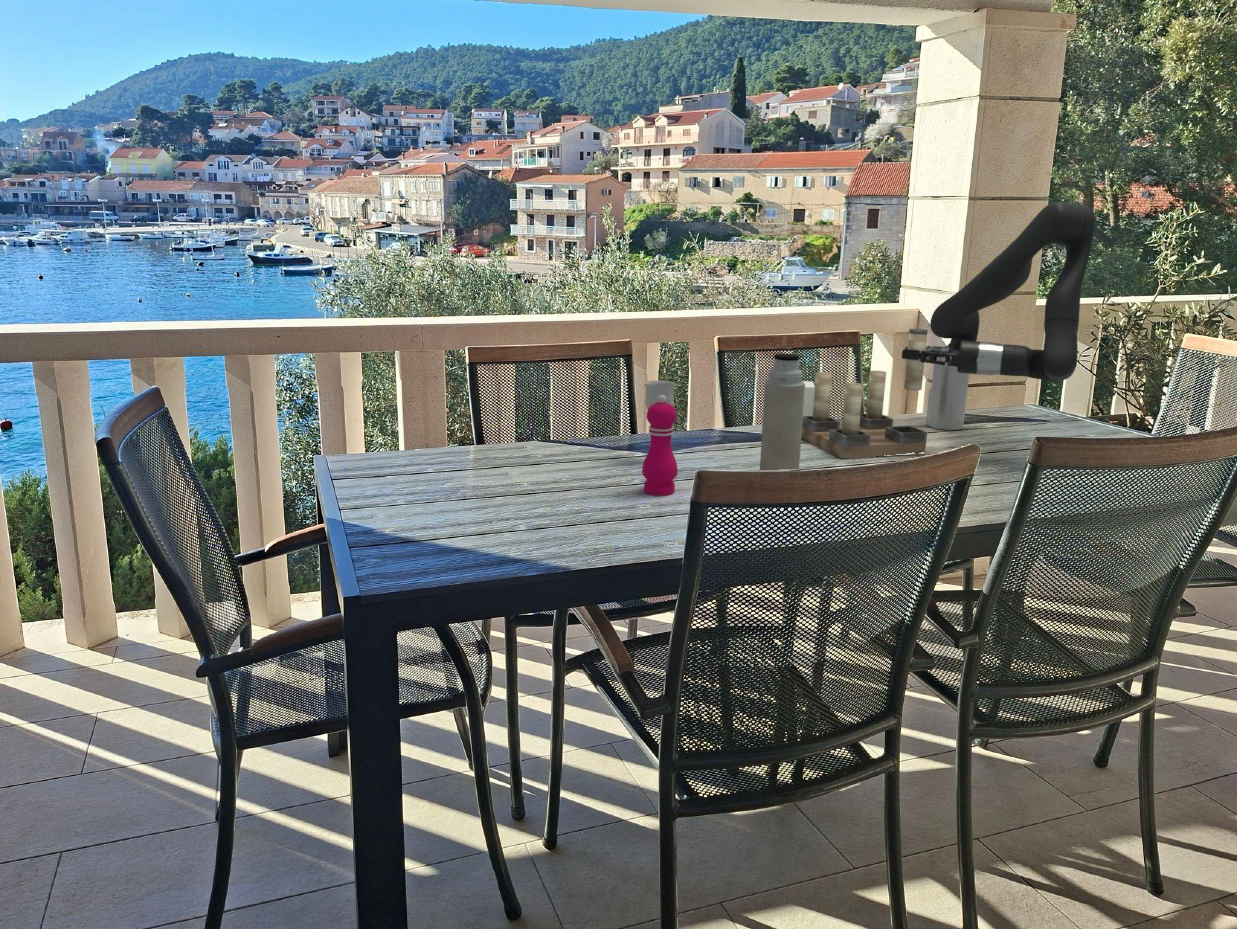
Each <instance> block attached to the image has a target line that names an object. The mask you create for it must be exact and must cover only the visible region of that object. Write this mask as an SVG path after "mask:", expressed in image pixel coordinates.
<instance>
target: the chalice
mask: <svg viewBox="0 0 1237 929" xmlns="http://www.w3.org/2000/svg"><path fill="white" fill-rule="evenodd" d="M643 384H644V386H645V407H646V410H647V411H648V409H649V407H650V406H651V405H652V404H654V403H658V397H659V396H660V395H665V396H666V398H667V400H666V402H665V403H669V404H671V405H672V406H673V407H674V390H675V387H676V386H677V383H676V382H674V381H669V380H647V381H644V382H643Z"/></svg>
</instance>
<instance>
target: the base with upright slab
mask: <svg viewBox="0 0 1237 929" xmlns="http://www.w3.org/2000/svg"><path fill="white" fill-rule="evenodd" d="M802 382H804V383H805V392H804V406H803V416H813V405H814V392H815V382H814V381H810V380H809V381H808V380H807V381H806V380H804V381H803V380H802Z"/></svg>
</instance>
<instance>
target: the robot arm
mask: <svg viewBox="0 0 1237 929" xmlns="http://www.w3.org/2000/svg"><path fill="white" fill-rule="evenodd" d="M1095 227H1096V216H1095V213H1094V210H1092V209H1091V208H1090V207H1088V206H1086V205H1081V204H1076V203H1071V202H1065V201H1053V202H1050V203H1049V204H1047V205H1045V206H1044V207H1043V208H1042V209H1041V210H1040V211H1039V213H1037V214H1036V215H1035V217H1034V218H1033V219H1032V221H1030V223H1028V225H1027V226H1026V227H1025V228H1024V229H1023V231H1022V232H1020V234H1019V235H1018V236H1017V237H1016V238H1015V239H1014V240H1013V241H1012V242H1011V243H1010V244H1009V245H1008V246H1007V247H1005V249H1004V250H1003V251H1002V252H1001V253H1000V254H998V255H997V256H996V257H995V258H993V259H992V261H990V262H989V263H988V264H987V265H985V267H984V268H983V269H981V271H980V272H979V273H978V274H976V275H975V277H973V278H972V279H971V280H970V281H969V282H968V283H966V284H965V286H963V287H962V288H961V289H960V290H959V291H957V292H956V293H955V294H953V295H951V296H950V297H948V299H946V300H944V301H943V302H942V303H941V304H939V305H938V306H937V307H936V308H935V310H934V311H933V313H932V315H931V318H930V324H929V325H930V329H931V332H932V333H933V335H934V336H936V337H938V338H942V339H950V342H949V343H948V344H947V345H946V346H938V345H933V346H930V345H926V350H910V349H908V346H906V347H905V348H904V349H902V350H901V351H902V352H901V359H903V360H907V359H912V360H918V361H920V362H922V363H924V364H925V363H926V364H931V365H933V369H932V370H933V371H932V378H931V387H930V389H929V391H928V399H927V409H926V410H927V411H926V419H925V423H926V424H927V426H928V427H930V428H933V429H937V430H945V431H946V430H947V431H956V430H957V431H958V430H962V429H963V428H964V423H965V416H966V415H965V414H966V407H967V406H966V405H967V399H968V398H967V396H968V387H969V379H970V375H981V376H1009V377H1026V378H1031V379H1036V380H1040V381H1041V380H1043V381H1049V382H1062V381H1066V380H1067V379H1069V378H1070V377H1072V376H1073V374H1074V372H1075V370H1076V367H1077V365H1078V331H1079V326H1080V325H1079V323H1080V309H1081V306H1080V305H1081V297H1082V296H1081V295H1082V290H1083V289H1082V288H1083V283H1084V278H1085V275H1086V270H1087V266H1088V262H1089V258H1090V254H1091V253H1090V252H1091V250H1092V248H1091V247H1092V246H1093V245H1092V244H1093V241H1094V240H1093V239H1094V237H1095V236H1094V235H1095V231H1096V230H1095V229H1096V228H1095ZM1048 245H1057V246H1061V247H1062V246H1063V247H1065V251H1066V252H1065V261H1064V265H1063V268H1062V270H1061V272H1060V274H1059V276H1058V277H1057V279H1056V280H1055V281H1054V283H1053V285H1052V286H1051V288H1050V290H1049V292H1048V294H1047V297H1046V300H1045V309H1044V321H1043V322H1044V323H1043V325H1044V326H1043V327H1044V329H1043V330H1044V339H1043V340H1044V341H1043V349H1036V348H1035V349H1034V348H1030V347H1028V346H1025V345H1020V344H1009V343H1008V344H1007V343H1006V344H1005V343H998V342H993V341H992V342H991V341H978V335H979V329H980V328H979V327H980V313H979V311H981V310H983V309H986V308H988V307H990V306H992V305H993V306H994V305H995V304H997V303H1000V302H1002V301H1003V300H1005V299H1008V297H1010V296H1012V295H1013V294H1014V293H1015V292H1016V291H1018V289H1020V288H1021V287H1022V286H1023V285H1025V283H1026V282H1027V280H1029V277H1030V275H1031V271H1032V263H1033V258H1034V257H1035V256H1036V255H1037V254H1038V253H1039V252H1040V251H1041V250H1042V249H1043V248H1045V247H1046V246H1048Z"/></svg>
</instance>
